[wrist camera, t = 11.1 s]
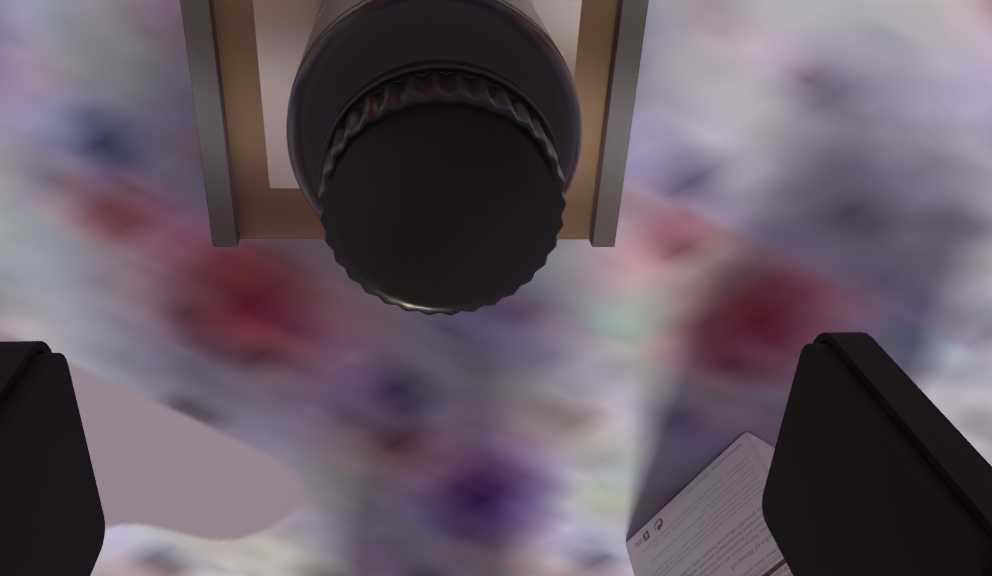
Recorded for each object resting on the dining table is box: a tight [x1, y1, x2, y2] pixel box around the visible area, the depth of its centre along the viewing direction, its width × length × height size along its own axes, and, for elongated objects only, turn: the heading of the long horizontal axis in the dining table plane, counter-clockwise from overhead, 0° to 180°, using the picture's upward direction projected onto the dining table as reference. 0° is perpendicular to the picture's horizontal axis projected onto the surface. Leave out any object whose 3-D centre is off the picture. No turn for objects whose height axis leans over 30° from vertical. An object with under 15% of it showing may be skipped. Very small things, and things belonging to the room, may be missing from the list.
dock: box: [180, 0, 649, 247], centre depth 27 cm, size 14×14×4 cm
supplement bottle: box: [286, 0, 582, 315], centre depth 21 cm, size 7×7×12 cm
